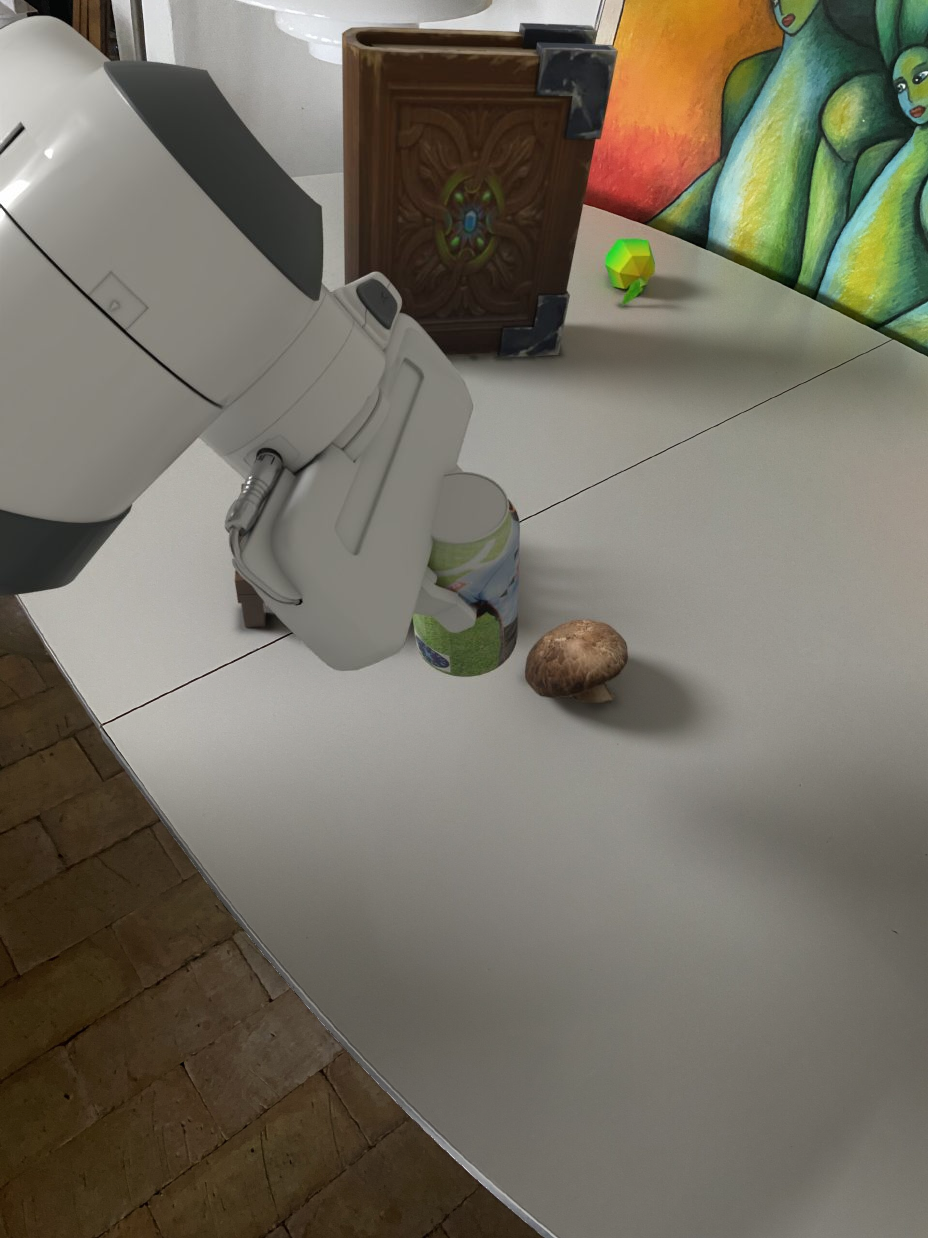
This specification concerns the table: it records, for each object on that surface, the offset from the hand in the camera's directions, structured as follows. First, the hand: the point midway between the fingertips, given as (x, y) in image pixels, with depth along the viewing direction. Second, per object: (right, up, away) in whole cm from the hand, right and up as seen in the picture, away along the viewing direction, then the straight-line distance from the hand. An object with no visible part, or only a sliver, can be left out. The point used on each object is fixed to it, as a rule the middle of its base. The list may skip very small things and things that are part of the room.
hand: (477, 580), depth 47 cm
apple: (+20, +39, +63) cm, 77 cm away
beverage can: (-1, -4, +5) cm, 7 cm away
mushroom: (+7, -7, +20) cm, 23 cm away
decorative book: (-2, +29, +51) cm, 59 cm away
